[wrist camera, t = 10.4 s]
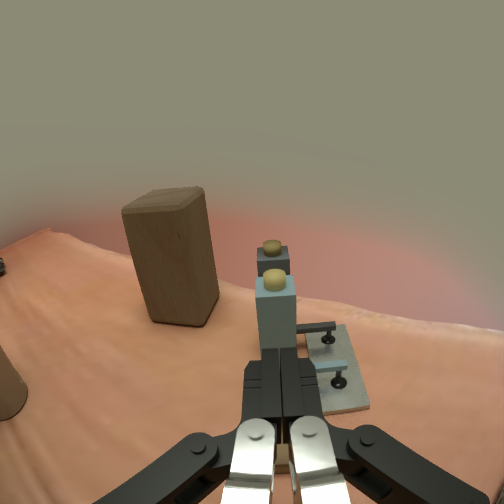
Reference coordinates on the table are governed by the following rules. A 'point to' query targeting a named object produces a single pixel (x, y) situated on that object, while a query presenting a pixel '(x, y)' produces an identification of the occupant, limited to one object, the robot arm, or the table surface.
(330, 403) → the grey flat plate
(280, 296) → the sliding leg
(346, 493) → the robot arm
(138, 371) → the table surface
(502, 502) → the concrete block
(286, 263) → the dark grey l-shaped piece
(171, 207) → the block
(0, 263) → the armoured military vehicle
